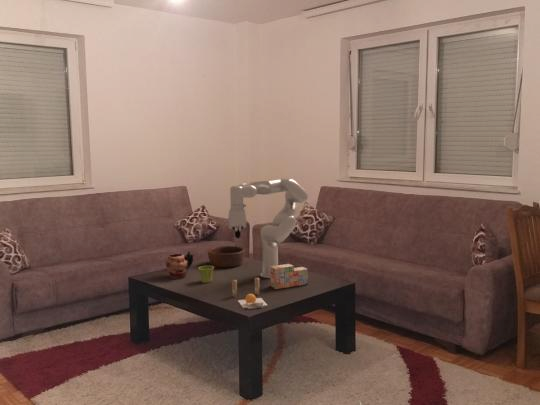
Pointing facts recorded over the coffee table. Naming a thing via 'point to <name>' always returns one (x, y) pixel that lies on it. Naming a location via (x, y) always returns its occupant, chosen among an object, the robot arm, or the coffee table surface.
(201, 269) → the plant pot
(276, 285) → the stack of blocks
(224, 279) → the coffee table surface
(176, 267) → the decorative planter
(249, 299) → the ball
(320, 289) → the coffee table surface
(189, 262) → the controller
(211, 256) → the wooden bowl
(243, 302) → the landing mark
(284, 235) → the robot arm
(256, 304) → the stopper wall
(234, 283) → the post
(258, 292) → the post
